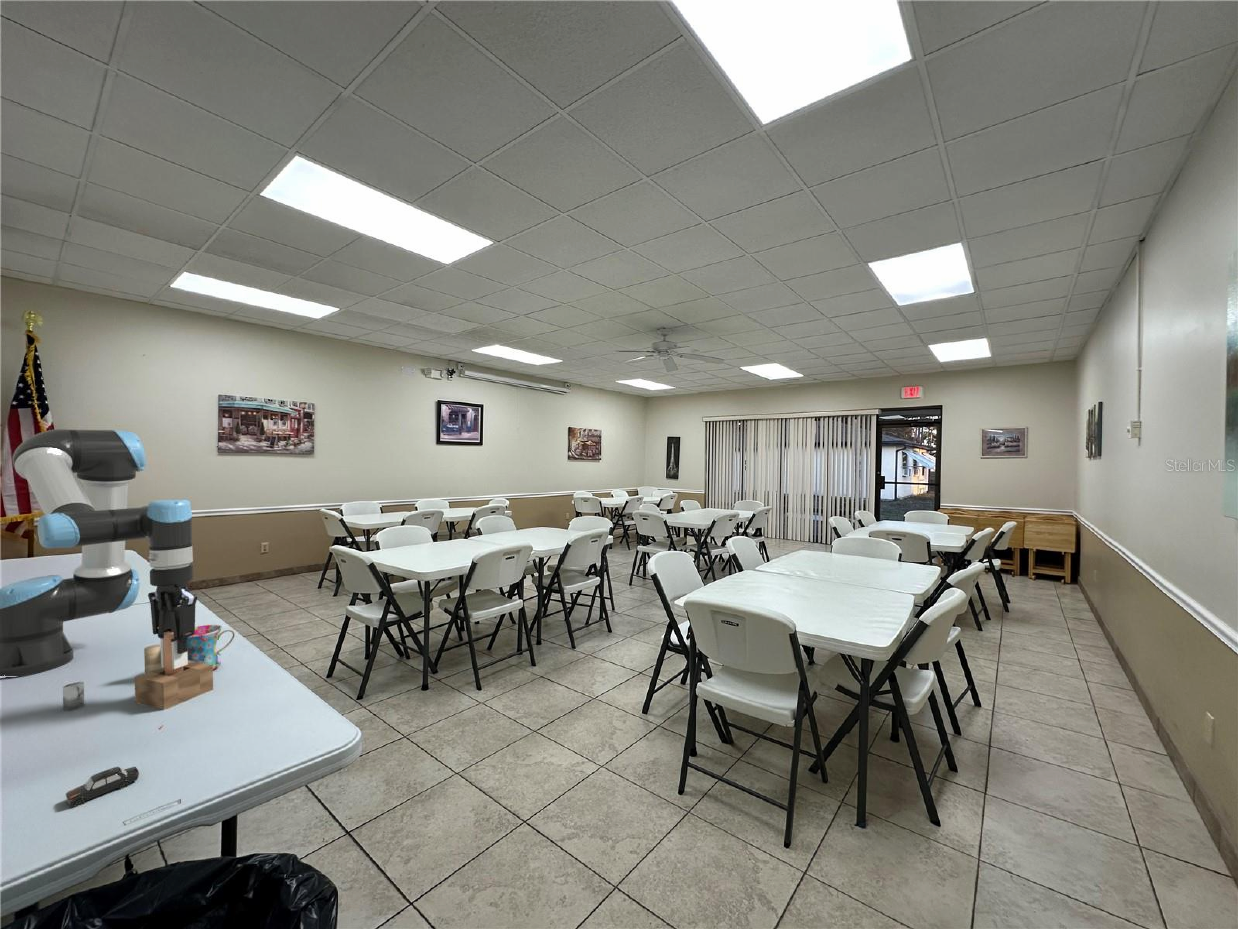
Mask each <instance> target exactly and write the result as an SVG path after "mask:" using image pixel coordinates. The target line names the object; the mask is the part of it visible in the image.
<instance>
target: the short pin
mask: <svg viewBox="0 0 1238 929" xmlns="http://www.w3.org/2000/svg"><path fill="white" fill-rule="evenodd" d="M84 706H85V682H84V681H77V682H72V683H69V684H66V685H64V686H63V687H62V710H63V711H64V712H68V711H69V712H70V711H74V710H78V709H80V708H82V707H84Z"/></svg>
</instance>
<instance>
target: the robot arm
mask: <svg viewBox="0 0 1238 929" xmlns="http://www.w3.org/2000/svg"><path fill="white" fill-rule="evenodd" d="M146 461H147V460H146V452H145V449H144V446H143V443H142V441H141V439H140V437H139V436H138V435H137V434H136V433H135V432H132V431H128V430H127V431H125V430H116V429H67V428H66V429H65V428H59V429H58V428H57V429H49V430H45V431H42V432H38V433H36V434H34V435H32V436H30V437H28V438H27V439H25V440H23V442H21V443H20V444H19V445H18V446H17V448H16V449H15V450H14V452H13V455H12V465H13V468H14V470H15V472H16V474H18V475H19V476H20V477H21V478H22V479H25V480H27V482H28V484H29V486H30V489H31V491H32V492H33V494H34V496H35V499H36V500H37V503H38V504H39V506H40V509H41V510H42V512H43V514H44V515H42V516H40V517H39V519H38V522H37V537H38V541H39V545H40V546H42V547H43V548H44V549H63V548H66V549H71V548H74V547H81V564H80V565H79V566H77V567H76V568H75V569H73V576H72V577H70V578H64V579H63V577H62V576H61V574H60V575H59V574H50V575H49V574H48V575H45V576H44V575H42V576H37V577H32V578H29V579H24V580H19V581H16V582H13V583H9V584H6V585H4V586H2V587H1V588H0V676H4V675H5V676H20V677H25V676H30V675H34V674H38V673H41V672H42V673H43V672H46V671H49V670H53V669H55V668H58V667H61V666H63V665H65V664H67V663H69V662H72V660H74V658H75V657H74V649H73V647H72V645H71V643H70V642H69V640H68V638H67V636H66V635H65V632H64V622H68V621H73V620H79V619H85V618H88V617H89V618H90V617H94V616H99V615H105V614H111V613H115V612H118V611H122V610H126V609H128V608H130V607H131V606H132V605H133V604H134V603H135V601H136V600H137V598H138V595H139V589H140V580H139V579H140V576H139V573H138V571H137V570H136V569H134V568H132V565H131V564H129V563H128V562H126V561H125V553H126V541H136V540H146V539H148V549H149V555H148V559H149V567H151V569H150V570H149V585H151V586H153V587H156V589H155V590H156V591H152V592H149V593H148V594H147V597H148V600H149V603H150V616H151V626H152V629H151V630H152V634H153V635H154V636H155V635H157V637H158V639H160V645H161V667H165V656H164V635H165V634H167V633H171V632H173V633H174V639H171V643H172V669H176V668H179V667H182V666H185V665H187V664H188V656H187V650H188V648H187V638H188V637H190V636H193V635H194V634H195V627H196V604H197V601H198V595H197V594H196V593H195V594H191V593H190V590H189V587H188V583H189V582H191V581H193V579H194V565H192V564H191V563H193V562H194V555H193V554H194V553H193V551H194V550H193V528H192V527H193V525H192V524H193V519H192V518H193V512H192V507H191V506H192V505H191V502H190V501H189V500H188V499H178V498H177V499H176V498H175V499H160V500H159V499H158V500H153V501H150V502H148V503H149V504H148V505H143V506H140V507H133V508H131V507H129V508H128V493H129V484H130V483H132V482H133V481H134V480H136V479H137V478H136V477H137V476H136V474H137V472H138V473H140V472H142V471H144V470H145V468H146V465H147V462H146ZM75 474H76V475H75ZM79 481H80V482H79ZM81 482H82V483H83V485H84V487H82V486H81ZM83 488H84V489H83ZM24 675H25V676H24Z"/></svg>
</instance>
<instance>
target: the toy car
mask: <svg viewBox="0 0 1238 929" xmlns="http://www.w3.org/2000/svg"><path fill="white" fill-rule="evenodd" d="M163 727H164V724H162V725H161V726H160V727H158V731H159V730H161V729H162V728H163ZM156 733H157V732H155V733H154V735H153V736H155V735H156ZM152 739H153V737H151V739H150V740H152ZM146 743H147V744H145V746H147V745H148V744H149V742H146ZM142 751H143V749H140V751H139V753H138V754H137V756H138V755H140V753H141V752H142ZM136 761H137V760H136V759H135V760H134V763H133V766H132V767H128V768H122V767H120V766H115V767H111V768H109V769H106V770H103V771H100V772H98V773H95V774H93V775H91V776H90V777H89V778H88V780H87V781H86V782H85V783H84V784H82V785H80V786H78V787H76V788H73V789H71V790H69V791H67V792H66V793H65V797H66V800H67V805H68V806H69V807H70V808H72V807H75V808H77V807H79V806H80V805H85V804H86V802H87V801H89V800H91V799H93V798H94V799H95V798H96V797H99V796H102V795H103V794H106V793H108V792H111V791H113V790H114V791H115V789H118V790H123V789H124V788H128V787H129V785H130V784H132V783H133V782H135V781H138V778H139V775H140V772H139V769H138V768H137V766H135V763H136Z"/></svg>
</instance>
